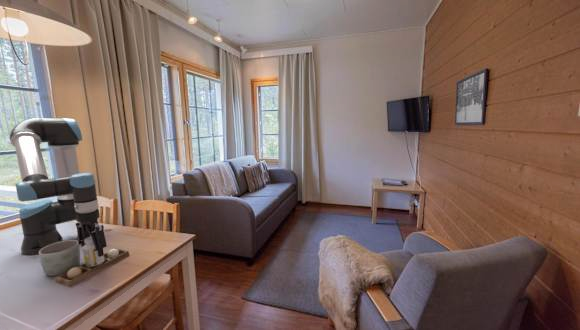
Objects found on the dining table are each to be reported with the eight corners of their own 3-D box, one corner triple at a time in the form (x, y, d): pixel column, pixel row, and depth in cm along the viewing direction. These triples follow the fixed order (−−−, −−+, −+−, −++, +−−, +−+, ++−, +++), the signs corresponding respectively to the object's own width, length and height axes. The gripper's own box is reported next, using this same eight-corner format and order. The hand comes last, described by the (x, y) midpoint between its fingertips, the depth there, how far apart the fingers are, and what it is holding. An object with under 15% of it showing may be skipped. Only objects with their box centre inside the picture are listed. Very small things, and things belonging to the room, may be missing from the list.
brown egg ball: (65, 280, 98) (63, 270, 97) (77, 273, 102) (76, 264, 101) (72, 282, 96) (70, 272, 95) (84, 275, 100) (83, 266, 100)
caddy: (55, 283, 96) (54, 277, 96) (116, 252, 119) (115, 248, 118) (70, 288, 94) (69, 282, 93) (129, 255, 116) (128, 251, 116)
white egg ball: (105, 259, 112) (104, 250, 111) (115, 254, 116) (113, 246, 115) (112, 261, 111) (111, 252, 110) (121, 256, 115) (120, 247, 114)
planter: (48, 283, 97) (44, 257, 95) (38, 273, 103) (34, 249, 101) (87, 267, 107) (83, 244, 105) (76, 259, 113) (72, 237, 112)
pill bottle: (107, 258, 109) (104, 234, 107) (97, 267, 103) (94, 241, 101) (92, 259, 109) (88, 235, 107) (81, 267, 102) (77, 242, 100)
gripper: (61, 210, 101) (70, 261, 105) (93, 216, 95) (101, 270, 99) (81, 205, 108) (89, 253, 112) (112, 210, 102) (119, 260, 106)
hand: (94, 261), depth 106 cm, fingers closed on pill bottle, 6 cm apart
